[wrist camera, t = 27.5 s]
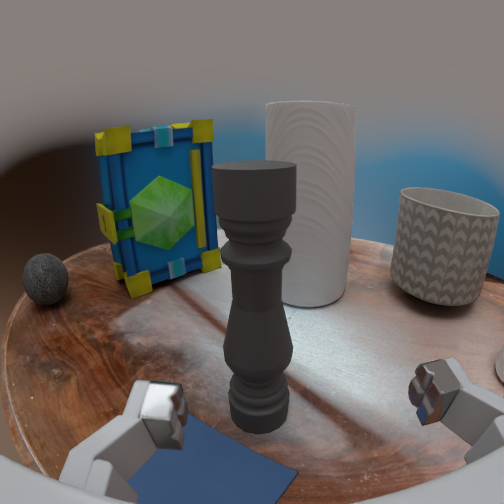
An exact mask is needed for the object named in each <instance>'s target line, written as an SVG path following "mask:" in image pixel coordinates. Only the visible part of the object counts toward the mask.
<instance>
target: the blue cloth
mask: <svg viewBox="0 0 504 504" xmlns="http://www.w3.org/2000/svg"><path fill="white" fill-rule="evenodd" d="M182 429H183V431H184V434H185V436H184V442H183V448H182V450H171V449H160V448H157V449H158V450H157V451H156V452H155V453H154V454H153V455H152V456H151V457H150V459H149V460H148V461H147V462H146V463H145V464H144V465H143V466H142V467H141V468H140V469H139V470H138V471H137V472H136V473H135V474H134V475H133V476H132V477H131V478H130V479H129V480H128V481H127V482H128V483H129V484H130V486H131V487H132V488H133V489H134V490H135V491H136V492H137V493H138V500H137V504H276V502H277V501H278V500H279V498H280V497H281V496H282V494H283V493H284V492H285V490H286V489H287V488H288V486H289V485H290V484H291V482H292V481H293V479H294V478H295V477H296V475H297V474H298V472H297V471H295V470H293V469H291V468H288V467H286V466H284V465H282V464H279V463H277V462H275V461H273V460H271V459H269V458H267V457H265V456H263V455H261V454H259V453H257V452H255V451H253V450H251V449H249V448H247V447H245V446H243V445H241V444H240V443H238V442H236V441H234V440H232V439H231V438H229V437H227V436H225V435H223V434H222V433H220V432H218V431H217V430H215V429H213V428H212V427H210V426H208V425H207V424H205V423H203V422H202V421H200V420H198V419H197V418H195V417H194V416H192V415H191V414H189V413H188V417H187V424H186V425H185V426H184V427H183V428H182Z"/></svg>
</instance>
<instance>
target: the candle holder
mask: <svg viewBox="0 0 504 504" xmlns="http://www.w3.org/2000/svg"><path fill="white" fill-rule="evenodd" d="M212 178H213V196H214V211H215V215H217V216H218V217H219V224H220V226H221V228H222V229H223V230H224V231H225V234H226V237H227V238H228V239H229V241H228V242H226V243H225V245H224V246H223V247H222V248H221V249H220V253H221V259H222V262H223V263H225V264H226V265H227V266H228V267H229V269H230V270H231V282H232V297H233V300H232V305H231V310H230V315H229V320H228V325H227V330H226V335H225V340H224V345H223V349H224V358H225V362H226V364H227V365H228V366H229V368H230V369H231V370H232V371H233V373H234V374H233V376H232V378H231V381H230V389H229V392H228V394H229V402H230V410H231V417H232V420H233V421H234V423H235V424H236V426H237V427H239V428H241V429H242V430H244V431H246V432H249V433H255V434H262V433H269V432H272V431H273V430H275V429H277V428H279V427H280V426H281V425H282V424H283V423H284V422H285V420H286V417H287V413H288V404H289V394H290V393H289V390H288V387H287V386H288V382H287V380H286V377H285V375H284V374H283V373H282V372H283V371H284V370H285V369H286V368H287V366H288V365H289V363H290V361H291V357H292V353H293V345H292V341H291V336H290V332H289V328H288V324H287V320H286V316H285V311H284V307H283V303H282V269H283V267H284V265H285V264H286V263H288V262H289V261H290V257H291V254H292V248H291V247H290V246H289V244H288V243H287V242H286V241H284V240H283V237H284V236H285V233H286V230H287V228H288V227H289V226H290V224H291V221H292V214H294V213H295V211H296V181H297V164H294V163H291V162H284V161H268V160H264V161H263V160H261V161H260V160H255V161H236V162H226V163H221V164H216V165H213V166H212Z"/></svg>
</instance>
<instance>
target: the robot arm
mask: <svg viewBox="0 0 504 504" xmlns="http://www.w3.org/2000/svg"><path fill="white" fill-rule="evenodd" d="M415 374H416V376H415V377H414V378H413V379H412V380H411V382H410V385H409V391H408V394H409V399H410V401H411V403H412V405H414V406H416V407H417V411H416V414H417V416H418V418H419V420H420V422H421V424H422V426H424V425H428V424H431V423H435V422H438V421H441V423H443V424H444V425H445V426H446V427H448V428H449V429H450V430H452V431H453V432H454V433H455V434H457V435H458V436H459V437H461V438H462V439H463V440H464V441H466V442H467V443H468V444H470V445H471V446H472V447H471V449H470V450H469V451H468V452H467V453H466V454H465V457H464V458H465V460H466V463H467V465H465V466H463V467H461V468H459V469H457V470H454V471H452V472H450V473H448V474H445V475H443V476H440V477H438V478H435V479H433V480H430V481H428V482H425V483H422V484H419V485H416V486H414V487H411V488H408V489H404V490H401V491H398V492H395V493H391V494H388V495H384V496H381V497H377V498H373V499H369V500H365V501H360V502H356V503H351V504H504V397H502V396H500V395H498V394H496V393H494V392H492V391H490V390H488V389H486V388H484V387H483V386H481V385H479V384H477V383H475V384H473V383H472V381H471V380H470V378H469V377H468V375H467V374H466V372H465V371H464V370H463V368H462V367H461V365H460V364H459V363H458V361H457V360H456V358H454V357H448V358H444V359H439V360H435V361H431V362H427V363H423V364H420V365H418V366H417V368H416V370H415ZM182 394H183V388H182V385H181V384H179V383H167V382H156V381H145V380H137V381H136V382H135V383H134V385H133V387H132V390H131V393H130V396H129V398H128V401H127V404H126V406H125V409H124V412H123V415H122V416H120V415H118V416H117V417H115V418H114V419H113V420H111V421H110V422H109V423H107V424H106V425H105V426H103V427H102V428H100V429H99V430H98V431H96V432H95V433H94V434H92V435H91V436H89V437H88V438H87V439H85V440H84V441H83V442H81V443H80V444H78V445H77V446H76V447H74V448H73V449H71V450H70V452H69V455H68V457H67V460H66V462H65V465H64V467H63V470H62V472H61V475H60V478H59V480H55V479H53V478H50V477H48V476H45V475H43V474H41V473H38V472H36V471H34V470H32V469H29V468H27V467H25V466H23V465H21V464H19V463H17V462H15V461H13V460H11V459H9V458H7V457H5V456H3V455H1V454H0V504H137V500H138V493H137V492H136V491H135V490H134V489H133V488H132V487H131V486H130V484H129V483H128V482H127V481H128V480H129V479H130V478H131V477H132V476H133V475H134V474H135V473H136V472H137V471H138V470H139V469H140V468H141V467H142V466H143V465H144V464H145V463H146V462H147V461H148V460H149V459H150V457H151V456H152V455H153V454H154V453H155V452H156V451H157V450H158V449H157V448H160V449H171V450H182V448H183V442H184V436H185V434H184V431H183V429H182V428H183V427H184V426H185V425H186V424H187V417H188V408H187V402H186V399H185V398H184V397H182Z"/></svg>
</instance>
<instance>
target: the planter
mask: <svg viewBox="0 0 504 504" xmlns="http://www.w3.org/2000/svg"><path fill="white" fill-rule="evenodd" d="M498 220H499V211H498V210H497V209H496V208H494V207H493V206H492V205H490V204H488V203H485V202H483V201H481V200H478V199H476V198H472V197H470V196H466V195H463V194H459V193H454V192H449V191H445V190H438V189H431V188H415V187H414V188H405V189H403V190H401V193H400V204H399V213H398V221H397V230H396V237H395V244H394V250H393V257H392V263H391V269H390V275H391V277H392V279H393V281H394V282H395V283H396V284H397V285H398V286H399V287H400V288H401V289H403V290H404V291H406V292H407V293H409V294H411V295H413V296H415V297H417V298H419V299H421V300H423V301H425V302H428V303H432V304H437V305H447V306H461V305H466V304H469V303H472V302H474V301H475V300H476V299H477V298H478V297H479V295H480V292H481V289H482V286H483V282H484V279H485V275H486V272H487V268H488V264H489V261H490V257H491V252H492V249H493V244H494V240H495V235H496V230H497V225H498Z"/></svg>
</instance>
